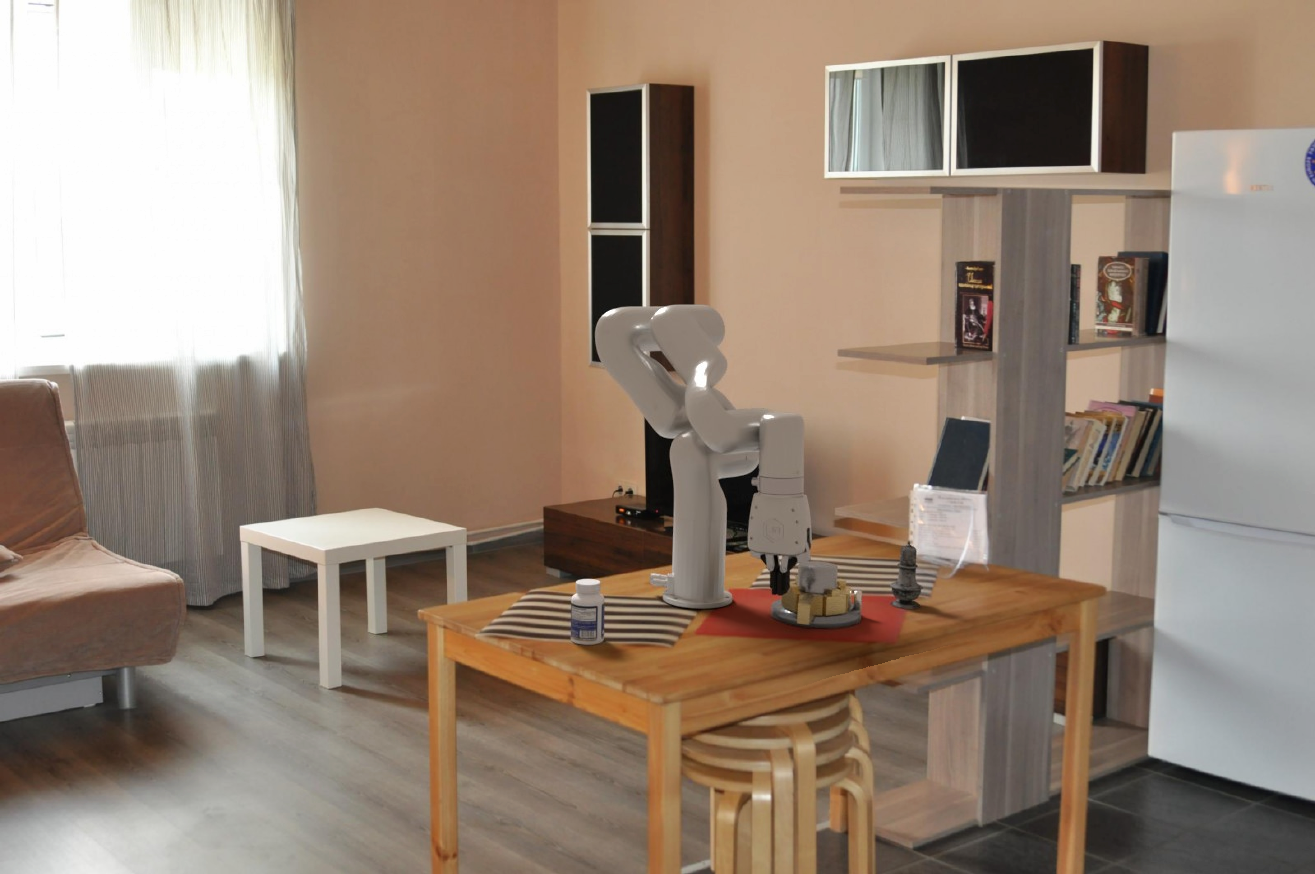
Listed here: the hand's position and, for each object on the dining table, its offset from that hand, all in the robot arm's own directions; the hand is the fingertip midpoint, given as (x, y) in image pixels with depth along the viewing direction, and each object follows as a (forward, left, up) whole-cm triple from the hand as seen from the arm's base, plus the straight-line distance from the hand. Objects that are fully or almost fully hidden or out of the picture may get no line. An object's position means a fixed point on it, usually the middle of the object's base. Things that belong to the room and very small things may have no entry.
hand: (779, 593), depth 225 cm
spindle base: (+5, +9, -6) cm, 11 cm away
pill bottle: (-27, -20, -6) cm, 34 cm away
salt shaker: (+19, +23, -6) cm, 30 cm away
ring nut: (+5, +6, -4) cm, 8 cm away
